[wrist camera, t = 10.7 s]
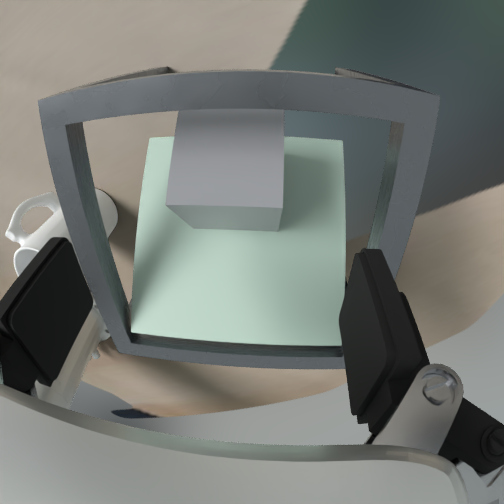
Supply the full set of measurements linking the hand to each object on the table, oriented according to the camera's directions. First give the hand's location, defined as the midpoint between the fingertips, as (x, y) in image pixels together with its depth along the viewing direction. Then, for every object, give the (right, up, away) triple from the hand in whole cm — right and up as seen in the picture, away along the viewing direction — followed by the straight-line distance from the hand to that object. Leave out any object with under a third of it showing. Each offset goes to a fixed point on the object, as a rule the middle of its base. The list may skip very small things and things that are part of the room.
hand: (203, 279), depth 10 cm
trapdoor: (+1, +2, +11) cm, 12 cm away
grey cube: (0, +5, +11) cm, 12 cm away
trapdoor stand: (+1, +10, +19) cm, 21 cm away
